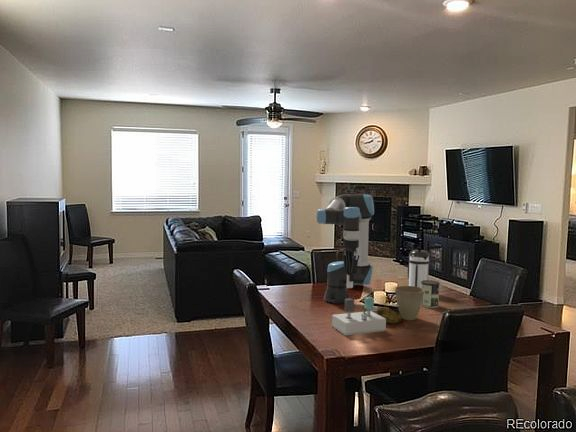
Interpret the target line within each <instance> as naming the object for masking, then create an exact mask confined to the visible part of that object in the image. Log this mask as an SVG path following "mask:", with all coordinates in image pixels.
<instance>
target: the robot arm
mask: <svg viewBox="0 0 576 432" xmlns="http://www.w3.org/2000/svg"><path fill="white" fill-rule="evenodd" d="M374 215H375V205H374V197H373V196H372V195H371V194H365V193H357V194H356V193H344V194H340V195H337V196H335V197H333V198H332V199H331V200H330V201H329V203H328V205H327V207H326V208H320V209H317V211H316V222H317V224H321V225H339V226H342V225H343V233H342V235H343V241H342V247H343V249H344V250H345V252H343V251H341V252H342V257H343V258H342V261H340V260H339V262H338V261H333V262H330V263H329V264H328V265H327V270H326V273H327V275H326V278H327V280H326V281H327V283H326V285H327V286H326V289H325V292H324V296H323V301H324V300H325V301H324V302H326V301H328V302H327V303H329V302H332V303H331V304H345V299H350V296H349V292H348V289H353V288H354V286H353V284H354V285H357V286H369V285H370V284H371V281H372V275H373V270H374V269H373V268H374V267H373V266H372V265H371V262H370V260H369V228H370V226H369V224H370V223H369V222H370V220H371V219H372V217H373V216H374Z"/></svg>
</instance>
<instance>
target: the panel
mask: <svg viewBox="0 0 576 432" xmlns="http://www.w3.org/2000/svg"><path fill="white" fill-rule="evenodd" d="M363 312H365V313H367V311H359V312H351V319H347V313H340V314H339V313H337V314H331V315H332V318H331V320H332V321H331V327H332V326H333V327H334V328H333V327H332V328H333V329H335V330H336V329H337V330H336V331H338V332H339V333H341V334H342V335H344V336H351V335H361V334H371V333H379V332H386V331H387V330H386V328H387V327H386V325H387V322H386V319H385V318H383V317H382V316H380V315H378V314H377V312H374V311H373V310H371V311H370V317H367V320H365V321H364V320H361V313H363Z"/></svg>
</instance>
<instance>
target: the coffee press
mask: <svg viewBox="0 0 576 432" xmlns="http://www.w3.org/2000/svg"><path fill="white" fill-rule="evenodd" d="M408 256H409V258H408V261H407V262H408V263H407V278H408V282H407V283H408V284H407V286H415V287H420V288H421V281H424V280H429V270H430V256H431V255H430V254H429V251H426V250H422V247H421V246H417V249H413V250H411V251H410V252H409V253H408Z"/></svg>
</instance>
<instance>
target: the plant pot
mask: <svg viewBox="0 0 576 432" xmlns="http://www.w3.org/2000/svg"><path fill="white" fill-rule="evenodd" d="M394 289H395V296H396V297H395V298H396V299H395V300H396V303H397V309H398V313H399V314H401V316H402V320H405V321H415V320H417V317H418V314H419V312H420V309H421V307H422V306H421V304H422V300H423V295H424V289H422V288H420V287H415V286H408V285H398V286H396V287H394Z"/></svg>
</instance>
